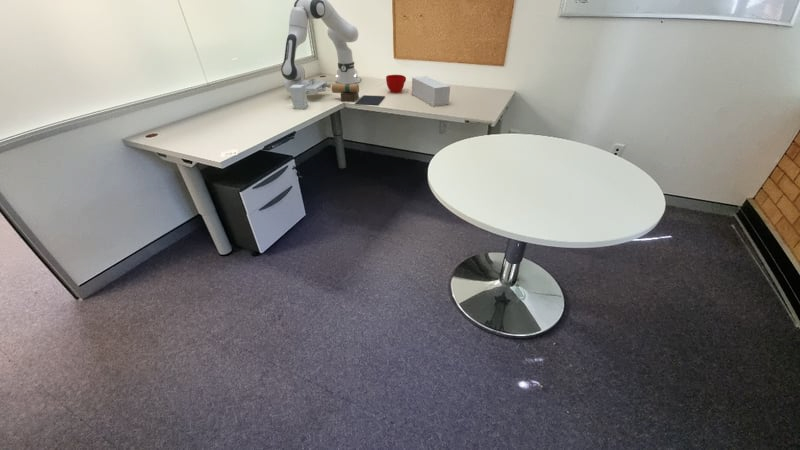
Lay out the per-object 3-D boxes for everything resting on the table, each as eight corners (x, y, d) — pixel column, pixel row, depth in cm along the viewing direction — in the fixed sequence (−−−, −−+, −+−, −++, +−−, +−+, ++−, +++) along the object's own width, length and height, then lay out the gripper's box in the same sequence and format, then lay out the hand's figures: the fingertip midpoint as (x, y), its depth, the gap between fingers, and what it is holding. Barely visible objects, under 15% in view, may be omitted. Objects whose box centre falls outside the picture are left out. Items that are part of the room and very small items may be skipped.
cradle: (346, 97, 222) (345, 89, 219) (358, 97, 221) (358, 90, 218) (341, 101, 214) (340, 93, 212) (354, 101, 213) (353, 94, 210)
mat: (363, 95, 225) (363, 95, 224) (385, 96, 222) (385, 96, 222) (355, 104, 209) (355, 103, 208) (377, 105, 206) (377, 104, 206)
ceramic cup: (412, 90, 235) (412, 75, 230) (395, 95, 226) (395, 79, 220) (398, 87, 243) (398, 72, 237) (382, 91, 233) (382, 76, 227)
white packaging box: (308, 105, 207) (305, 84, 199) (304, 109, 201) (301, 87, 193) (297, 105, 207) (293, 84, 200) (293, 108, 201) (288, 87, 194)
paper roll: (332, 93, 215) (331, 84, 212) (335, 91, 219) (334, 82, 216) (357, 94, 212) (356, 84, 209) (359, 92, 217) (358, 83, 213)
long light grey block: (411, 94, 228) (412, 77, 221) (425, 92, 231) (426, 76, 225) (433, 106, 204) (434, 88, 198) (448, 104, 207) (450, 86, 201)
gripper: (300, 85, 208) (321, 86, 206) (313, 78, 224) (332, 79, 222) (302, 96, 212) (322, 97, 210) (315, 88, 228) (334, 89, 226)
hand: (328, 87), depth 216 cm, fingers open, 8 cm apart
